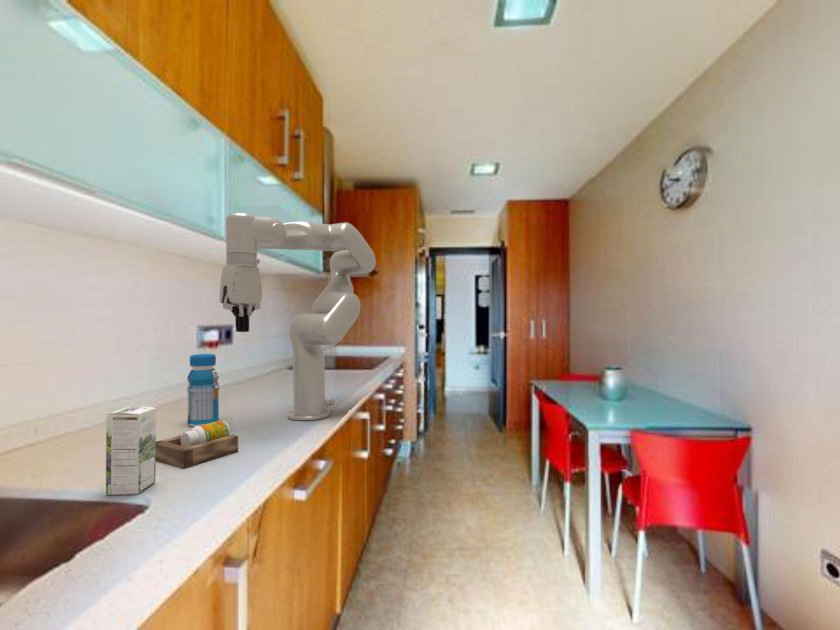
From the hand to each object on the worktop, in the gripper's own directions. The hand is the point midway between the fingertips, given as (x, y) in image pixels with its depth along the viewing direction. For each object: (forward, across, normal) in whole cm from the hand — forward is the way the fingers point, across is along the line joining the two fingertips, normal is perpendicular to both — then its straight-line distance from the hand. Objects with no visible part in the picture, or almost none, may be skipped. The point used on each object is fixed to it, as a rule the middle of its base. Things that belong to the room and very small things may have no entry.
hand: (242, 331), depth 117 cm
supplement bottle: (+24, +8, +4) cm, 25 cm away
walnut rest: (+27, +16, +5) cm, 32 cm away
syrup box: (+27, +34, +13) cm, 46 cm away
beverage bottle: (+27, -2, -20) cm, 34 cm away
